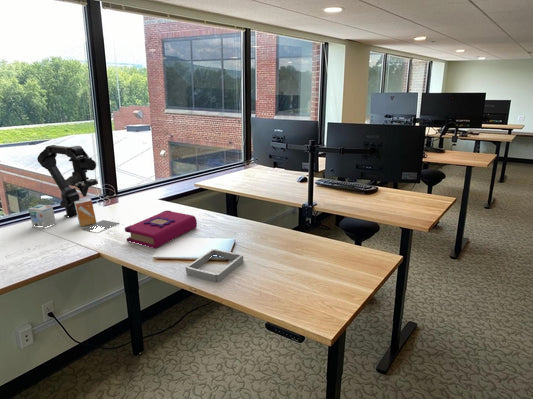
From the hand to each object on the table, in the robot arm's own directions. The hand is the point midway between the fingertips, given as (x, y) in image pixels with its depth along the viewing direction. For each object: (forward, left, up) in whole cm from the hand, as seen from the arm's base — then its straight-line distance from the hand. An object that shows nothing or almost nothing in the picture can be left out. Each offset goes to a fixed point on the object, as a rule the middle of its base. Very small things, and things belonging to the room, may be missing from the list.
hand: (84, 196), depth 215 cm
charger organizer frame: (+103, -20, -13) cm, 106 cm away
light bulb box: (-13, -18, -13) cm, 26 cm away
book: (+58, -2, -13) cm, 59 cm away
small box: (+8, -7, -13) cm, 17 cm away
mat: (+18, -7, -13) cm, 23 cm away
